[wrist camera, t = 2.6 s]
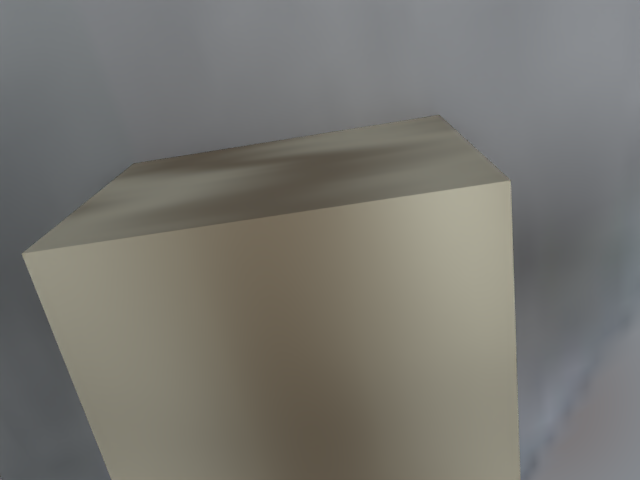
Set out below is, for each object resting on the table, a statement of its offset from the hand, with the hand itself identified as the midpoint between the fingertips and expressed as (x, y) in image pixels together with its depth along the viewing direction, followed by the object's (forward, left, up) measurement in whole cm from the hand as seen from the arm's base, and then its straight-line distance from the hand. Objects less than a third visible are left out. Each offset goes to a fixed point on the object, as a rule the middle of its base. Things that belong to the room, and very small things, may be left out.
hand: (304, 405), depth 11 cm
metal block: (0, 0, -6) cm, 6 cm away
